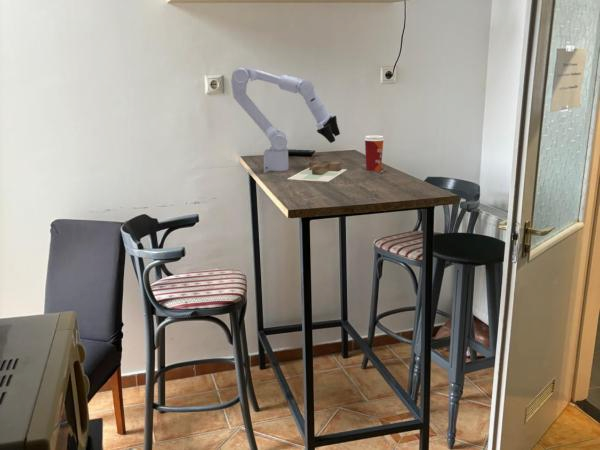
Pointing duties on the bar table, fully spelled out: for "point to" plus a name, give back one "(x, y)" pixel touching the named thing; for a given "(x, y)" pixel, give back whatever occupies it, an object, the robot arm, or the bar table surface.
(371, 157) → the paper cup
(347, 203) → the bar table surface
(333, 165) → the t block
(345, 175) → the bar table surface
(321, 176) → the board
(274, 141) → the robot arm
